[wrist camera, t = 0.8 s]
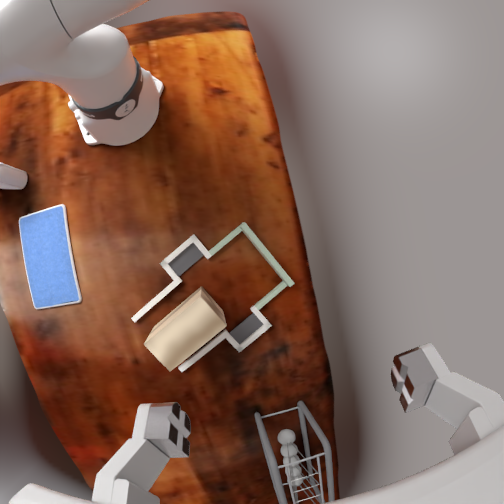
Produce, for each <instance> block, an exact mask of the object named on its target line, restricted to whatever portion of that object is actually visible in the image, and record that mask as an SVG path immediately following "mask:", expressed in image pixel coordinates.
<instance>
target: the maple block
mask: <svg viewBox="0 0 504 504" xmlns="http://www.w3.org/2000/svg"><path fill="white" fill-rule="evenodd" d="M226 326H227V325H226V320H225V316H224V312H223V310H222V309H221V308H220V307H219V305H218V304H217V303H216V302H215V301H214V300H213V299H212V298H211V296H210V295H209V294H208V293H207V292H206V291H205V290H204V288H203V287H202V286H201V287H200V288H199V289H198V290H196V291H195V292H194V293H193V294H192V295H191V296H189V297H188V298H187V299H186V300H185V301H184V302H182V303H181V304H180V305H179V306H178V307H176V308H175V309H174V310H173V311H172V312H171V313H169V314H168V315H167V316H166V317H165V318H163V319H162V320H161V321H160V322H159V323H158V324H156V325H155V326H154V327H153V329H152V331H151V333H150V334H149V336H148V338H147V340H146V341H145V343H144V345H145V346H146V347H147V348H148V349H149V351H150V352H151V353H152V354H153V355H154V356H155V357H156V358H157V359H158V360H159V361H160V362H161V363H162V364H163V365H164V366H165V367H166V368H167V369H168V370H169V371H171V370H173V369H174V368H175V367H177V366H178V365H179V364H180V363H182V362H183V361H184V360H185V359H187V358H188V357H189V356H190V355H192V354H193V353H194V352H195V351H197V350H198V349H199V348H200V347H202V346H203V345H204V344H205V343H207V342H208V341H209V340H210V339H212V338H213V337H214V336H215V335H216V334H218V333H219V332H220V331H221V330H223V329H224V328H225V327H226Z"/></svg>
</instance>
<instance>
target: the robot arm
mask: <svg viewBox="0 0 504 504" xmlns="http://www.w3.org/2000/svg"><path fill="white" fill-rule="evenodd" d="M147 1H149V0H0V86H1V85H4V84H7V83H11V82H17V81H43V82H49V83H53V84H55V85H58V86H59V87H61V88H62V89H63V90H64V91H65V92H67V93H68V94H69V98H70V102H69V103H68V105H69V107H70V109H71V110H72V111H74V113H75V117H76V119H77V121H78V124H79V126H80V129H81V132H82V134H83V137H84V140H85V142H86V143H87V144H88V145H96V144H101V143H103V144H108V145H113V146H120V145H126V144H129V143H132V142H134V141H136V140H138V139H139V138H141V137H142V136H143V135H145V134H146V133H147V132H148V131H149V130H150V128H151V127H152V126H153V124H154V123H155V121H156V118H157V116H158V112H159V97H160V95H161V93H162V91H163V88H164V86H163V83H162V82H161V81H159V80H158V79H156V78H155V77H153V76H152V75H151V73H150V72H149V71H146V70H144V69H143V68H141V67H140V65H139V63H138V61H137V60H136V58H135V57H134V56H133V55H132V52H131V49H130V46H129V44H128V41H127V38H126V37H125V35H124V34H123V33H122V32H120V31H119V30H117V29H116V28H113V27H111V26H108V25H104V24H103V23H105V22H107V21H110V20H112V19H114V18H116V17H118V16H121V15H123V14H125V13H128V12H130V11H131V10H133V9H135V8H137V7H138V6H140V5H142V4H144V3H146V2H147ZM88 134H90V135H89V136H88ZM393 362H394V364H395V366H394V367H393V368H392V370H391V379H392V383H393V386H394V388H395V391H397V392H399V393H401V396H400V401H401V404H402V406H403V408H404V411H405V413H406V412H409V411H412V410H415V409H417V408H420V407H422V406H425V407H426V408H427V409H429V410H430V411H432V412H433V413H435V414H436V415H437V416H439V417H440V418H442V419H443V420H445V421H446V422H447V423H449V424H450V425H452V426H453V427H455V428H456V429H457V431H456V432H455V433H454V434H453V436H452V437H451V438H450V440H449V443H450V445H451V448H452V450H453V453H454V456H452V457H450V458H448V459H446V460H444V461H442V462H440V463H438V464H436V465H434V466H432V467H430V468H428V469H426V470H423V471H421V472H419V473H416V474H414V475H412V476H409V477H407V478H404V479H402V480H399V481H397V482H394V483H391V484H389V485H385V486H383V487H380V488H377V489H374V490H371V491H368V492H365V493H361V494H358V495H354V496H351V497H347V498H343V499H339V500H335V501H331V502H327V503H322V504H504V402H503V400H502V399H501V397H500V395H499V393H496V392H494V391H492V390H490V389H488V388H486V387H484V386H482V385H480V384H478V383H476V382H474V381H472V380H470V379H468V378H466V377H464V376H462V375H460V374H458V373H456V372H452V373H451V372H450V371H449V369H448V367H447V366H446V365H445V363H444V361H443V360H442V358H441V356H440V355H439V353H438V352H437V350H436V348H435V347H434V346H433V344H432V343H427V344H424V345H422V346H419V347H416V348H414V349H411V350H408V351H406V352H403V353H401V354H398V355H396V356H395V357H394V360H393ZM180 407H181V406H180V405H179V404H178V403H177V402H173V403H156V404H153V403H152V404H140V406H139V407H138V410H137V415H136V420H135V425H134V430H133V435H132V439H128V440H127V441H126V443H125V444H124V445H123V446H122V447H121V448H120V449H119V450H118V451H117V453H116V454H115V455H114V456H113V457H112V458H111V459H110V460H109V461H108V462H107V464H106V465H105V466H104V467H103V468H102V469H101V470H100V471H99V472H98V473H97V475H96V480H95V485H94V491H93V497H92V501H88V500H84V499H80V498H76V497H73V496H69V495H66V494H63V493H60V492H57V491H54V490H51V489H48V488H45V487H42V486H40V485H37V484H33V483H31V484H28V485H26V486H25V487H24V488H23V489H21V490H20V491H19V492H18V493H17V494H16V495H14V496H13V497H12V499H11V500H10V501H9V504H159V501H160V499H159V498H158V497H157V496H155V495H153V494H151V493H150V492H148V491H149V489H150V488H151V486H152V485H153V483H154V482H155V480H156V479H157V477H158V476H159V474H160V473H161V471H162V470H163V468H164V467H165V465H166V464H167V462H168V461H169V459H170V458H178V457H189V448H190V442H189V441H188V440H187V437H188V436H189V434H190V433H191V425H190V420H189V417H188V415H187V414H186V413H185V412H183V411H181V410H180Z"/></svg>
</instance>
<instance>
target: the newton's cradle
mask: <svg viewBox="0 0 504 504" xmlns="http://www.w3.org/2000/svg"><path fill="white" fill-rule="evenodd" d="M297 406H298V407H295V408H291V409H288V410H284V411H280V412H277V413H273V414H269V415H265V416H260V414H259V413H258V412H257V413H255V419H256V423H257V427H258V431H259V435H260V438H261V442H262V446H263V449H264V453H265V457H266V460H267V464H268V468H269V471H270V475H271V478H272V482H273V485H274V489H275V492H276V495H277V498H278V501H279V504H287V500H286V496H285V493H284V489H283V485H286V484H289V486H290V491H291V495H292V499H293V504H296V501H297V502H299V501H298V496H297V494H295V499H294V494H293V493H294V492H296V493H297V487H296V486H300V485H301V484H302V482H303V479H307V478H309V479H310V482H311V483H310V482H309V481H308V480H307V481H308V482H309V483H310V484H311V485H312V487H313V489H314V491H315V493H316V495H317V497H318V499H319V500H318V499H317V498H316V497H315V496H314V497H315V498H316V499H317V500H318V501H319V502H320V503H321V504H322V503H325V501H324V497H323V487H322V478H321V469H320V460H319V456H321V455H324V454H325V461H326V471H327V483H328V495H329V502H331V501H334V484H333V469H332V455H331V448H330V444H329V442H328V440H327V438H326V436H325V435H324V433H323V432H322V430H321V429H320V427H319V426H318V424H317V423H316V421H315V419H314V418H313V416H312V415H311V413H310V412H309V410H308V409H307V407H306V405H305V404H304V402H303V401H299V402H298V403H297ZM297 408H298V412H299V418H300V424H301V430H302V437H303V443H304V449H305V455H306V458H304V456H303V455H302V454H301V453H300V452H299V451H298V448H297V446H296V445H295V444H294V443H293V442H294V441H295V433H294V432H293V431H292V430H290V429H284V430H282V431H281V432H280V433H279V434H278V441H279V442H280V443H281V444H283V446H282V447H281V454H282V455H283V456H284V459H283V463H284V465H281V466H278V465H277V462H276V458H275V455H274V453H273V450H272V447H271V444H270V442H269V439H268V436H267V433H266V430H265V427H264V424H263V422H262V419H261V418H264V417H268V416H272V415H276V414H280V413H283V412H287V411H290V410H294V409H297ZM304 414H305V416H306V418H307V419H308V421H309V423H310V424H311V426H312V428H313V429H314V431H315V433H316V434H317V436H318V437H319V439H320V441H321V443H322V445H323V447H324V451H325V452H324V453H321V454H318V455H315V456H312V457H310V450H309V444H308V437H307V430H306V424H305V417H304ZM297 452H299V453H300V454H301V455H302V457H303V458H304V459H302V460H300V459H299V457H298V456H297V455H296V454H297ZM315 457H317V463H318V471H319V472H317V471H316V470H315V469H314V468H313V467H312V464H311V459H312V458H315ZM303 461H306V462H307V468H308V471H307V470H306V469H305V467H304V466H303V465H302V464H301V463H300V462H303ZM299 463H300V464H301V465H302V466H303V467H304V469H305V470H306V471H307V472H308V474H309V477H308V476H306V477H305V476H304V475H303V474H302V473H301V467H300V466H299V465H298V464H299ZM282 467H285V469H286V470H285V472H286V475H287V478H288V480H287V481H288V483H285V484H282V481H281V477H280V473H279V469H278V468H282ZM312 468H313V469H314V470H315V471H316V472H317V473H319V479H320V488H321V493H320V491H319V489H318V487H317V485H316V483H315V481H316V480H315V479H314V478H313V475H314V474H313V471H312ZM317 473H315V474H317ZM300 474H302V475H303V476H304V477H305V478H304V477H302V475H300ZM314 480H315V481H314ZM316 482H317V481H316ZM317 483H318V482H317ZM303 484H304V483H303ZM304 485H305V484H304ZM318 485H319V483H318ZM292 486H293V490H292ZM305 486H306V485H305ZM300 487H301V486H300ZM306 487H307V486H306ZM301 488H302V487H301ZM307 488H308V487H307ZM307 488H306V489H307ZM309 488H310V487H309ZM302 490H303V491H304V489H303V488H302ZM308 490H309V489H308ZM299 491H301V490H299ZM309 491H310V490H309ZM304 492H305V491H304ZM310 492H311V491H310ZM305 493H306V492H305ZM311 493H312V492H311ZM306 494H307V493H306ZM312 494H313V493H312ZM307 495H308V494H307ZM313 495H314V494H313ZM308 497H309V496H308ZM309 498H310V497H309ZM309 498H308V499H309ZM311 498H312V497H311ZM311 498H310V499H311ZM304 500H306V499H304ZM311 500H312V499H311ZM301 501H303V500H301ZM312 501H313V500H312ZM313 503H314V502H313ZM297 504H298V503H297ZM314 504H315V503H314Z"/></svg>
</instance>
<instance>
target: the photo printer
mask: <svg viewBox="0 0 504 504" xmlns="http://www.w3.org/2000/svg"><path fill="white" fill-rule="evenodd" d="M26 183H27V174H26V172H25V171H22V170H20V169H17V168H14V167H11V166H9V165H6V164H3V163H1V162H0V189H23V188H24V187H25V185H26Z"/></svg>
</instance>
